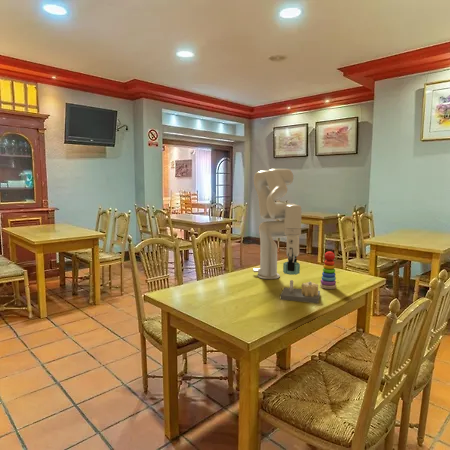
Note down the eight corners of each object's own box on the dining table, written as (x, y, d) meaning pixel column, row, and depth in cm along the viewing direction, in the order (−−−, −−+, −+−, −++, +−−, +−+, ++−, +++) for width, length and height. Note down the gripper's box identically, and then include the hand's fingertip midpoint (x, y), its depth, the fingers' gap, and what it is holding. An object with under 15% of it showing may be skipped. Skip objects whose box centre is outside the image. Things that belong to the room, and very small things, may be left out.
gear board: (280, 299, 162) (280, 282, 161) (284, 291, 173) (284, 276, 172) (318, 303, 156) (318, 286, 155) (319, 294, 168) (320, 278, 167)
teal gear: (282, 273, 162) (282, 264, 161) (284, 269, 169) (284, 261, 168) (298, 275, 160) (298, 266, 159) (300, 271, 167) (300, 262, 166)
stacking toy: (337, 290, 174) (338, 253, 172) (320, 289, 176) (321, 252, 173) (335, 285, 182) (336, 250, 180) (319, 284, 184) (320, 249, 181)
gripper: (298, 234, 153) (298, 274, 155) (302, 229, 169) (302, 265, 171) (281, 233, 155) (281, 272, 157) (287, 228, 171) (286, 264, 173)
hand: (292, 268), depth 164 cm, fingers closed on teal gear, 7 cm apart
